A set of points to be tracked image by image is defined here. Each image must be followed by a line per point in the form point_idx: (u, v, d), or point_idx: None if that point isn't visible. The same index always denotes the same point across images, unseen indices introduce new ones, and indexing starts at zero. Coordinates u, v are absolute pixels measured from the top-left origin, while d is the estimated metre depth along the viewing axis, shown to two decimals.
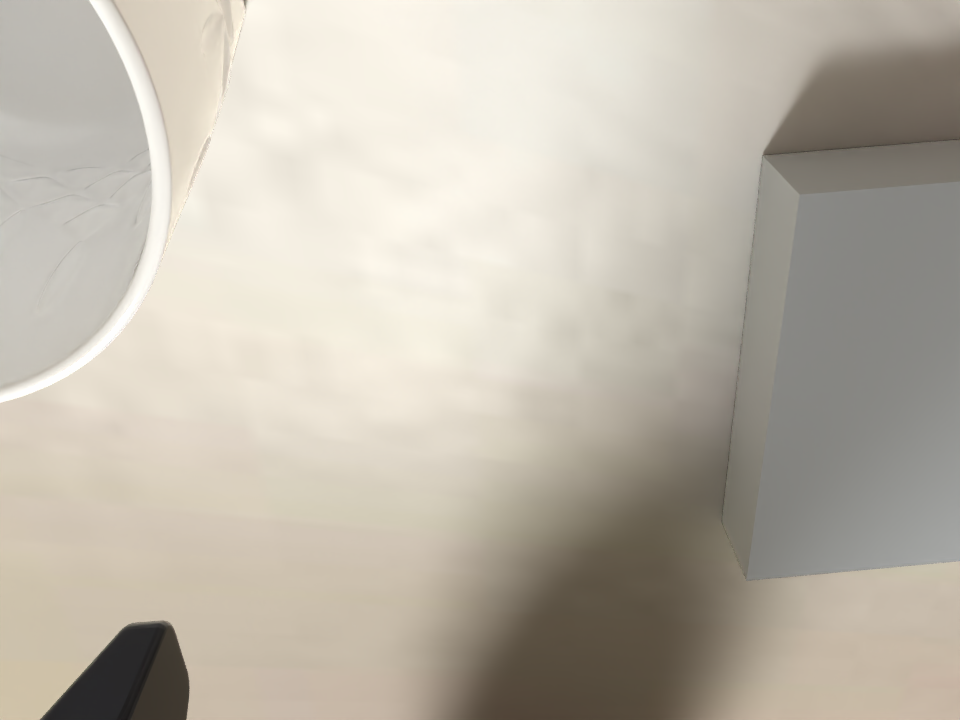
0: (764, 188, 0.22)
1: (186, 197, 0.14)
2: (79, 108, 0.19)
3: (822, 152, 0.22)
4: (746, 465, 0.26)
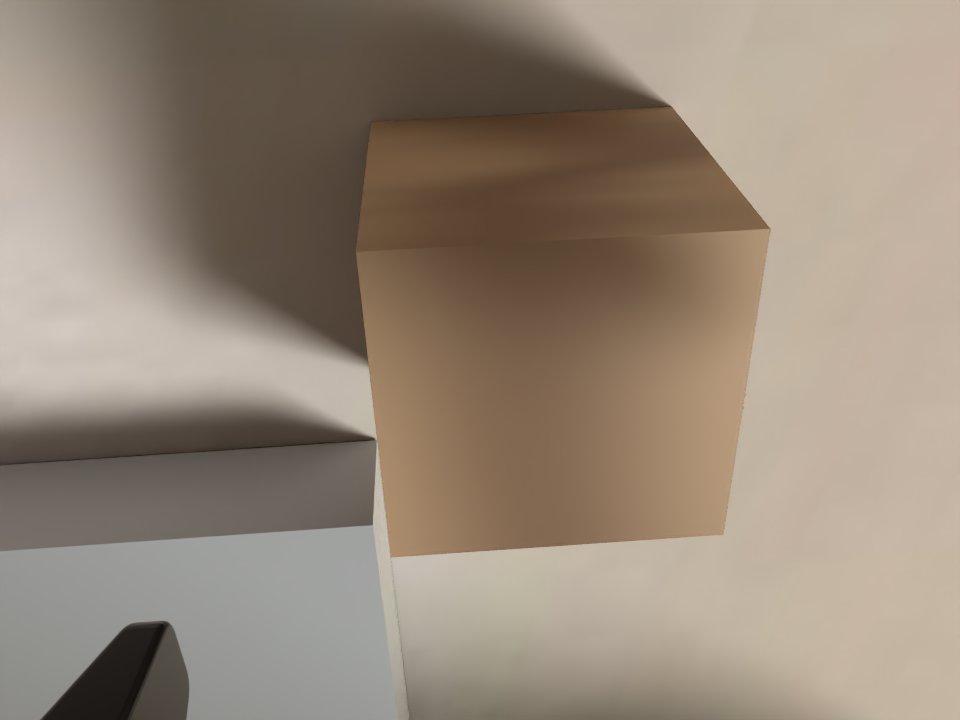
0: None
1: None
2: None
3: None
4: None
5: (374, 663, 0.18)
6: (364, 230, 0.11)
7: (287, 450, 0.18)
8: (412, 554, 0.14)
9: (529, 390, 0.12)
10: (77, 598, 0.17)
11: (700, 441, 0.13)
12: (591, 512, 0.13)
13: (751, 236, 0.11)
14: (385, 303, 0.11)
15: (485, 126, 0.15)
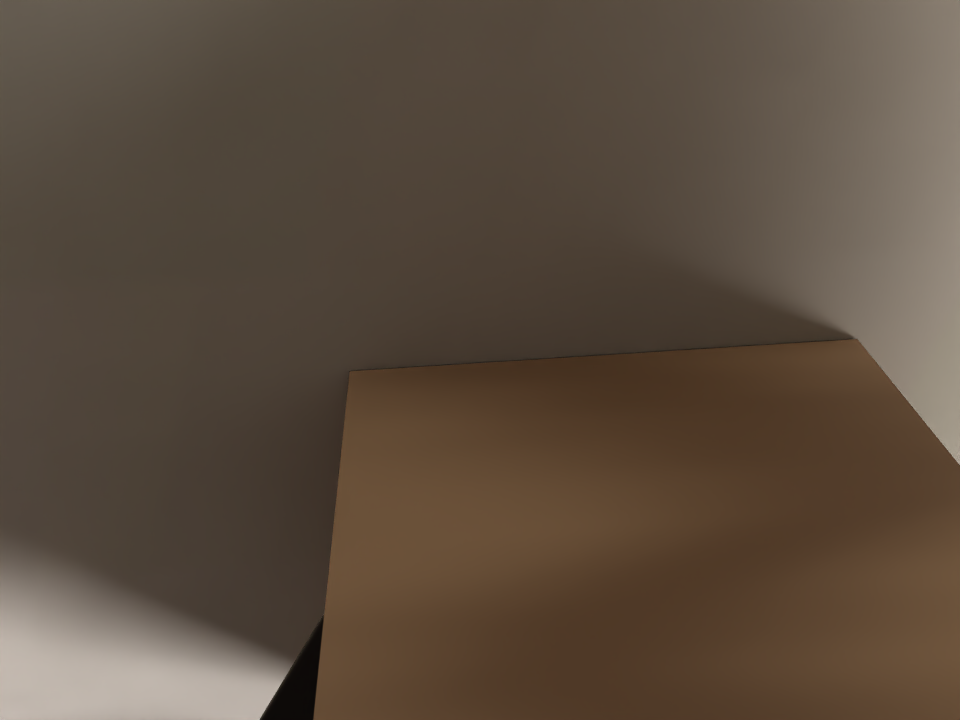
0: None
1: None
2: None
3: None
4: None
5: None
6: None
7: None
8: None
9: None
10: None
11: None
12: None
13: None
14: None
15: (548, 395, 0.08)
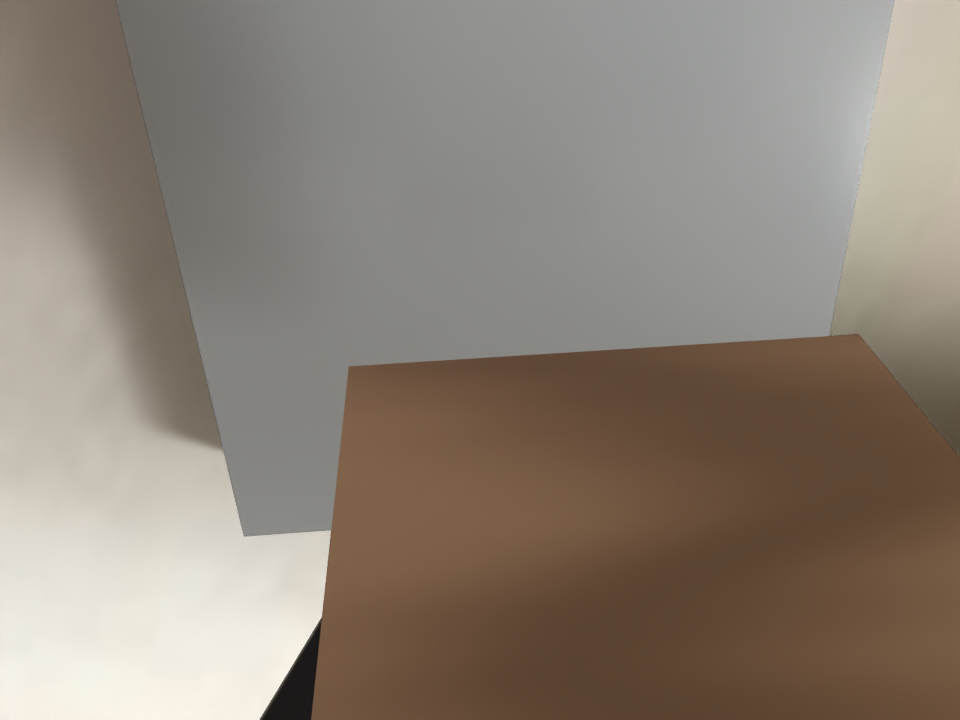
0: None
1: None
2: None
3: None
4: None
5: (853, 120, 0.15)
6: None
7: None
8: None
9: None
10: None
11: None
12: None
13: None
14: None
15: (548, 390, 0.08)
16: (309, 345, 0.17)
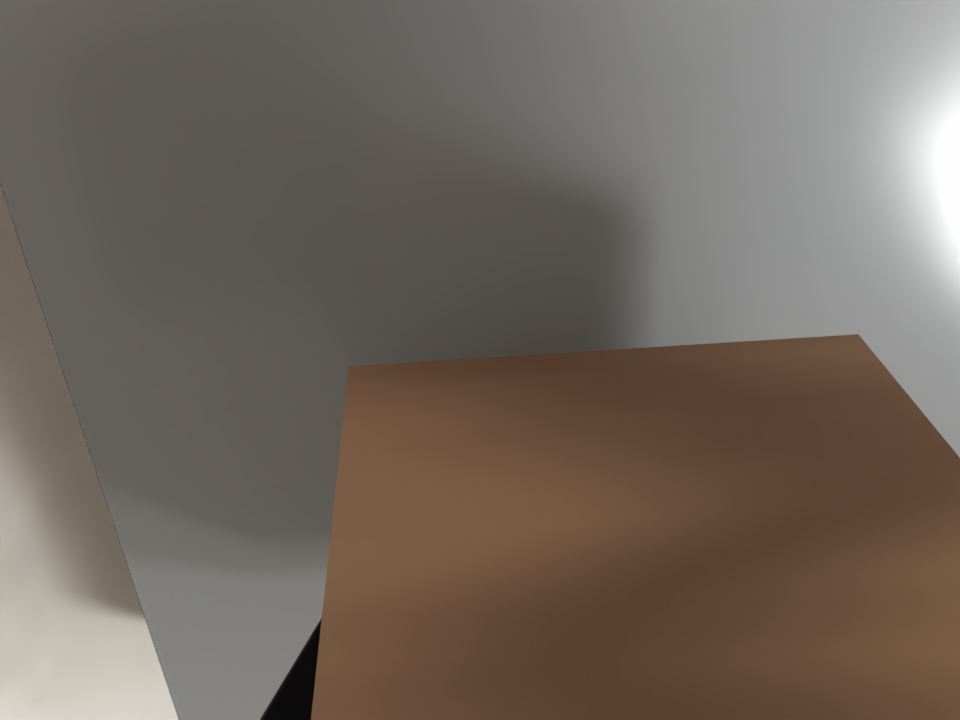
0: None
1: None
2: None
3: None
4: None
5: None
6: None
7: None
8: None
9: None
10: (618, 71, 0.09)
11: None
12: None
13: None
14: None
15: (548, 390, 0.08)
16: (274, 541, 0.12)
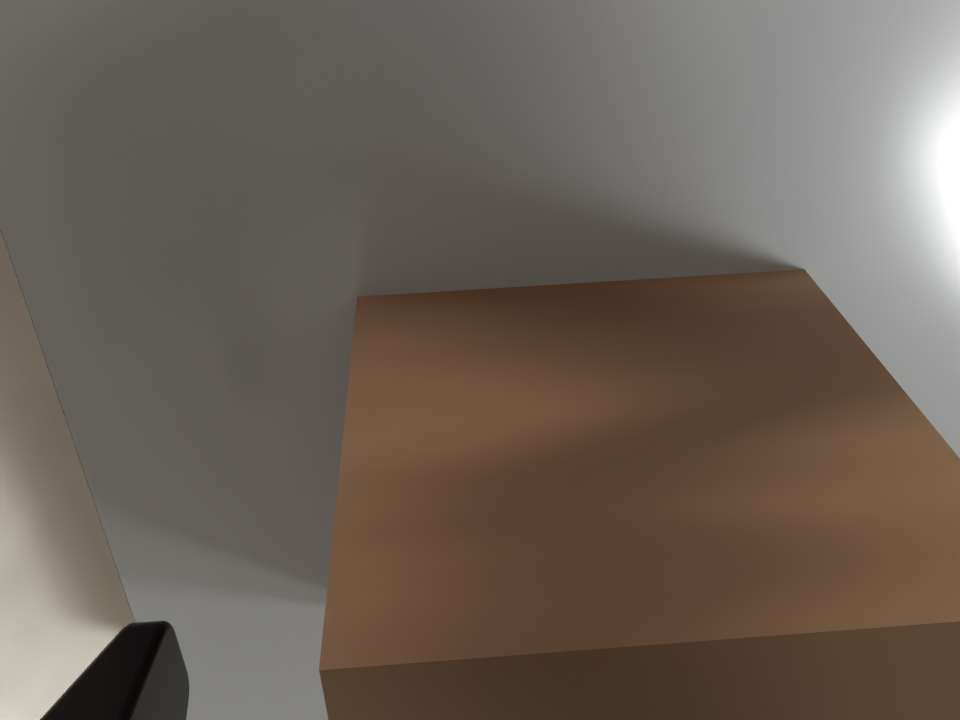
0: None
1: None
2: None
3: None
4: None
5: None
6: (337, 597, 0.06)
7: None
8: None
9: None
10: (629, 84, 0.09)
11: None
12: None
13: None
14: None
15: (531, 314, 0.10)
16: (274, 563, 0.12)
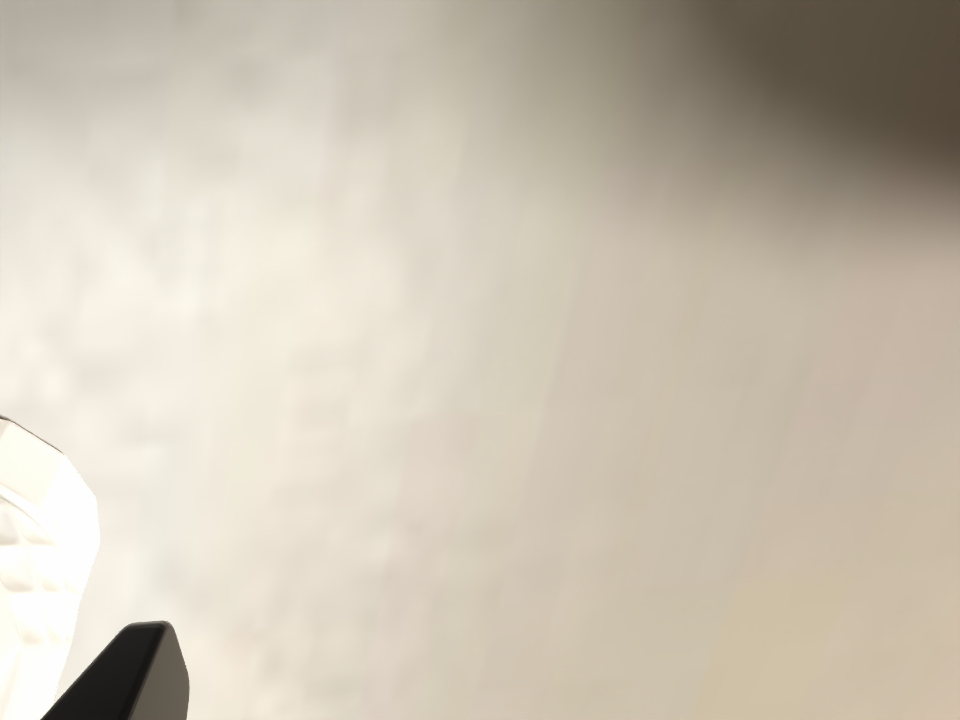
0: None
1: None
2: None
3: None
4: None
5: None
6: None
7: None
8: None
9: None
10: None
11: None
12: None
13: None
14: None
15: None
16: None
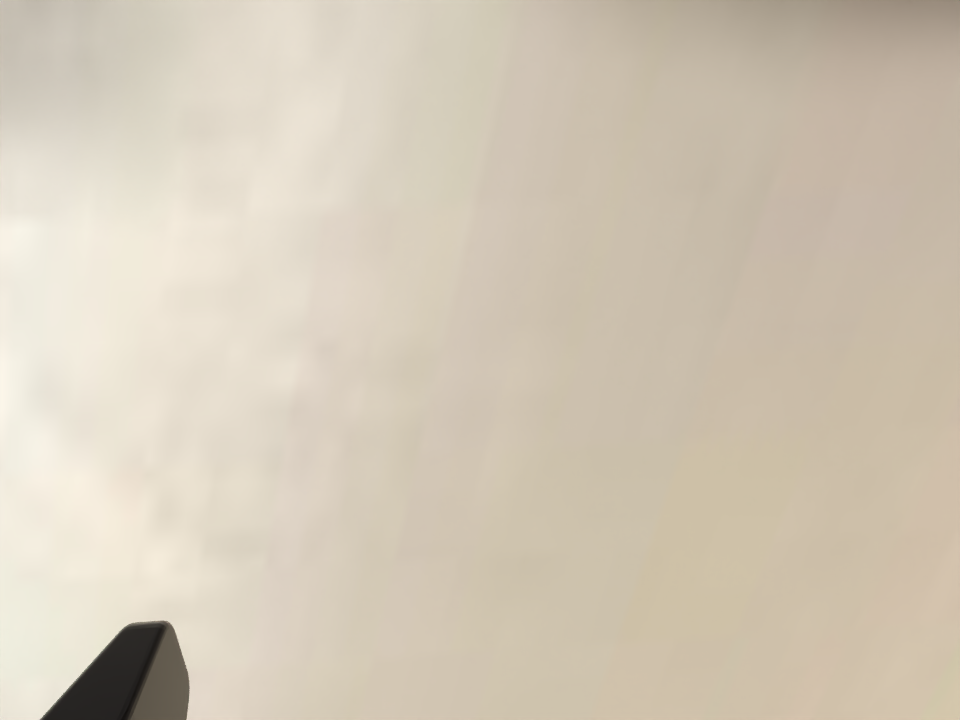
0: None
1: None
2: None
3: None
4: None
5: None
6: None
7: None
8: None
9: None
10: None
11: None
12: None
13: None
14: None
15: None
16: None
